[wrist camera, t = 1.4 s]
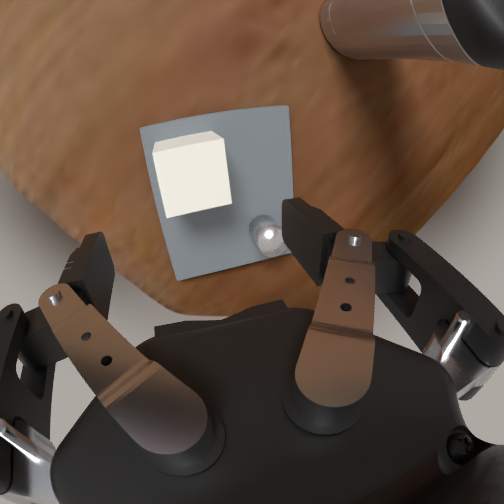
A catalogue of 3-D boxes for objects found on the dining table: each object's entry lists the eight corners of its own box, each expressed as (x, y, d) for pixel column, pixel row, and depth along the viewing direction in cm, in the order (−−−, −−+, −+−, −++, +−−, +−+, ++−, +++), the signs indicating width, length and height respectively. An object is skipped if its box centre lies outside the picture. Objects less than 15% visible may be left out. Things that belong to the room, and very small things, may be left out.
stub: (274, 212, 32) (288, 227, 29) (275, 236, 34) (288, 253, 31) (247, 217, 31) (258, 233, 28) (250, 242, 33) (260, 260, 30)
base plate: (282, 105, 27) (288, 105, 26) (289, 246, 37) (294, 252, 36) (141, 127, 24) (139, 128, 23) (176, 273, 34) (177, 281, 33)
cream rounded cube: (211, 130, 25) (223, 138, 21) (218, 183, 28) (232, 203, 24) (154, 142, 24) (152, 153, 19) (165, 195, 27) (166, 218, 22)
